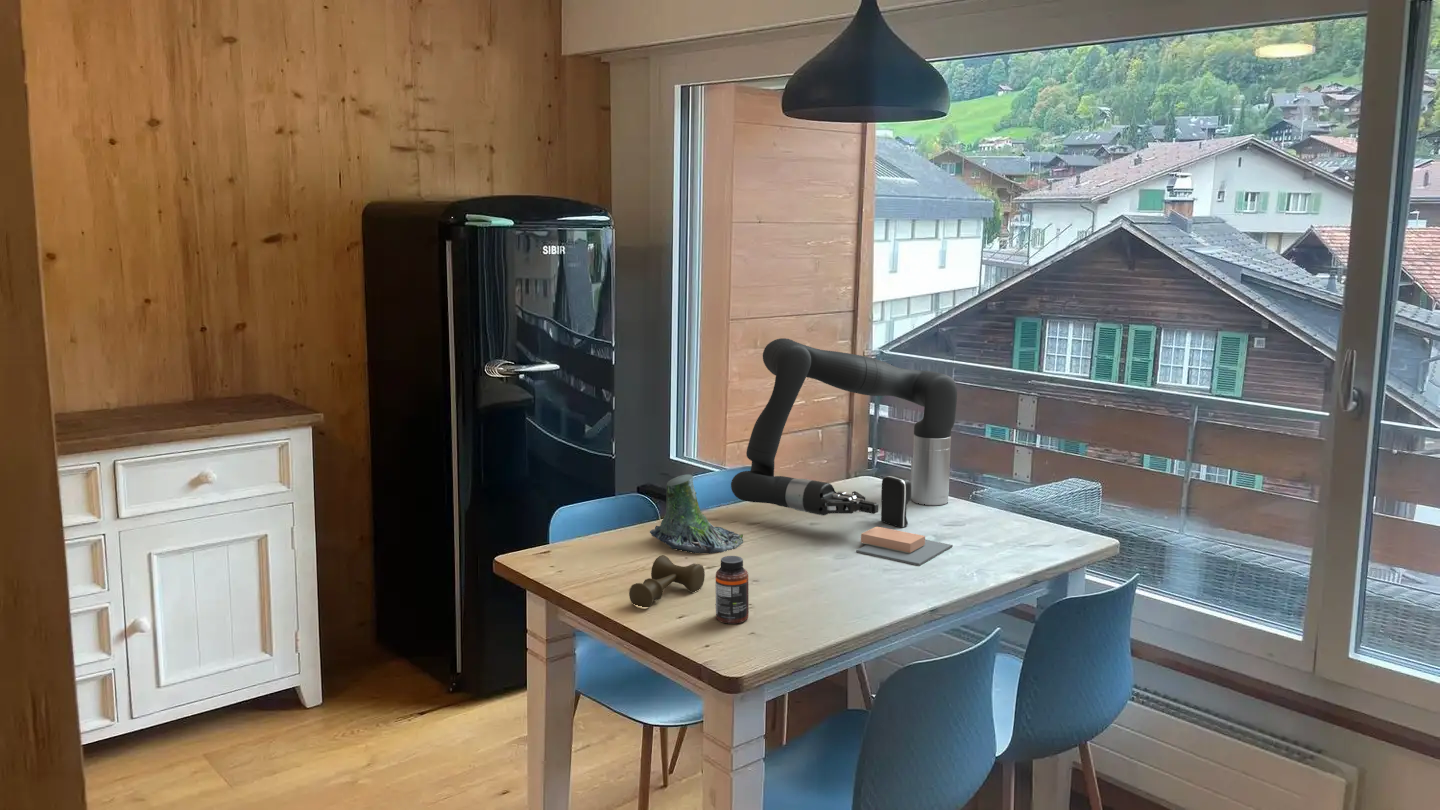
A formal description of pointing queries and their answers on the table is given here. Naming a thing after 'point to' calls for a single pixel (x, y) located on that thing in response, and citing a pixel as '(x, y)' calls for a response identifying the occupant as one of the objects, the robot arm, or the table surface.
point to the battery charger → (895, 500)
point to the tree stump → (691, 522)
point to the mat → (914, 557)
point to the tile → (893, 539)
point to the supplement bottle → (732, 591)
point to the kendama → (666, 581)
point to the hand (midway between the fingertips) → (876, 508)
